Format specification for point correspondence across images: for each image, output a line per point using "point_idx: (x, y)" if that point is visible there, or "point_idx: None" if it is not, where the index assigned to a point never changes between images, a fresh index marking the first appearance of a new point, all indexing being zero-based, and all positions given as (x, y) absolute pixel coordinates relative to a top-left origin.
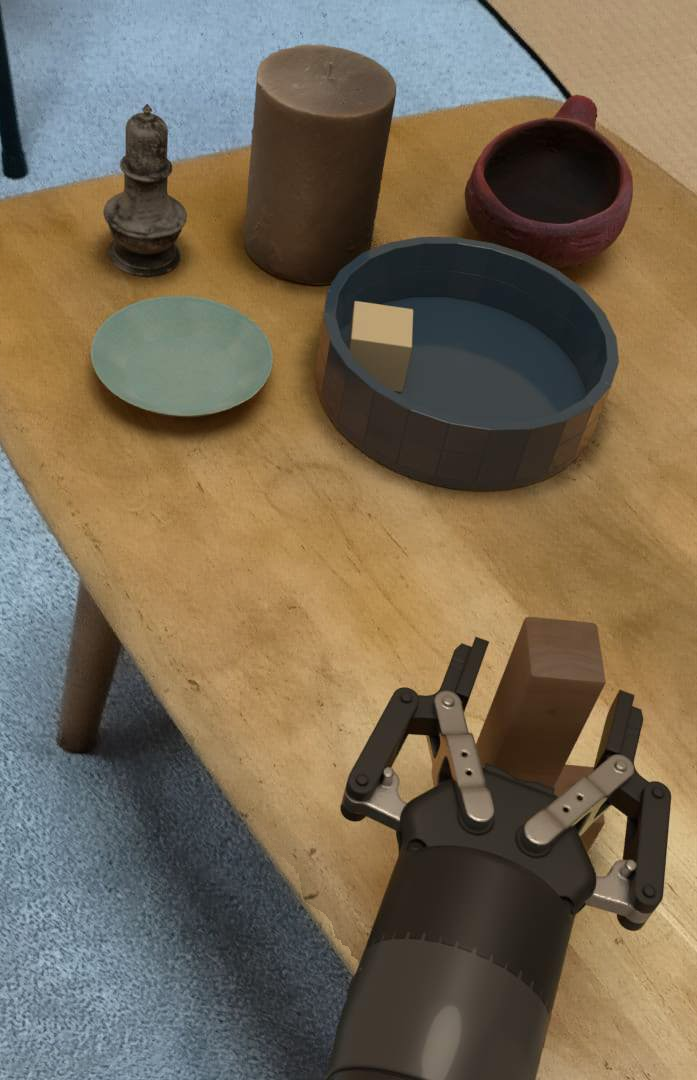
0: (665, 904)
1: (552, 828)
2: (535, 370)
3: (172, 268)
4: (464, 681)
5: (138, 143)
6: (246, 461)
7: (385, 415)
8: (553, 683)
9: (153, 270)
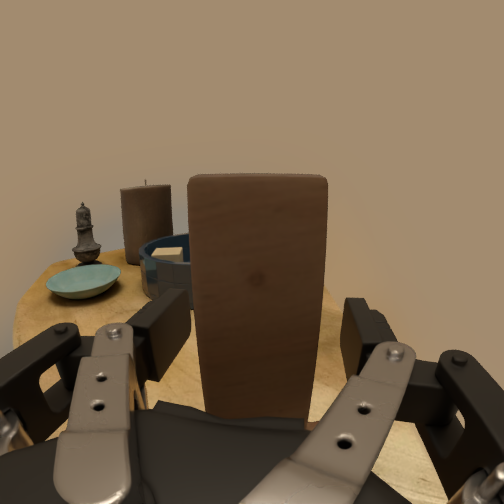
0: (425, 492)
1: (325, 501)
2: None
3: None
4: (145, 315)
5: (78, 214)
6: (101, 311)
7: (163, 273)
8: (236, 190)
9: None
